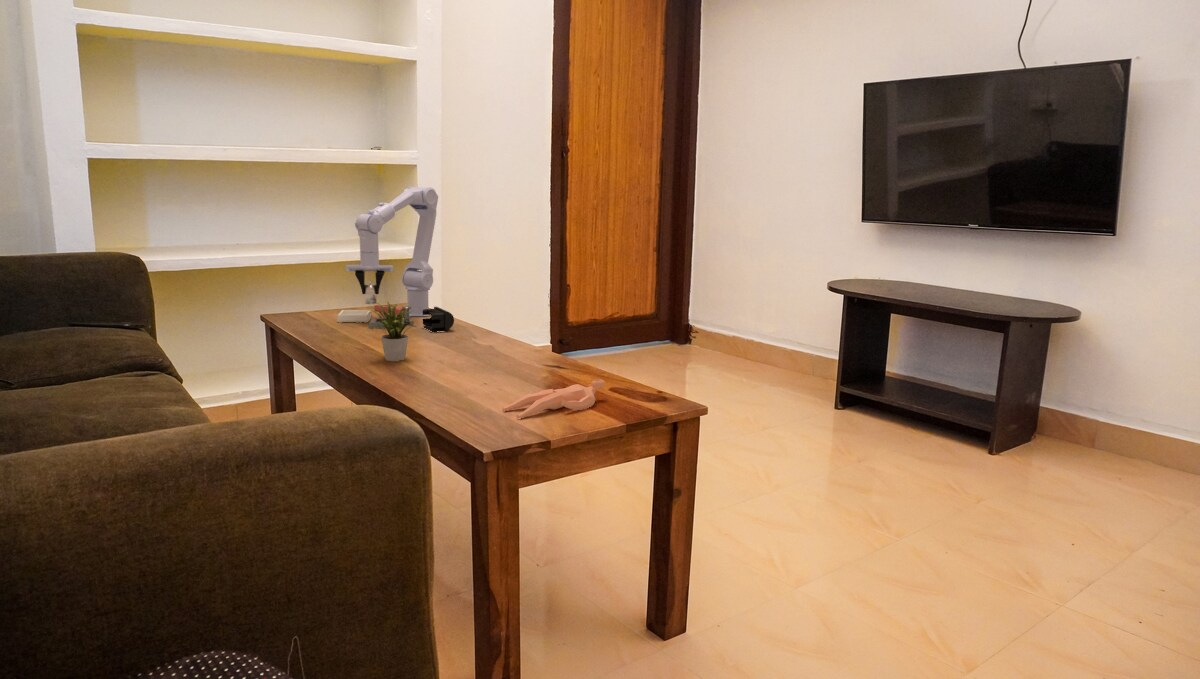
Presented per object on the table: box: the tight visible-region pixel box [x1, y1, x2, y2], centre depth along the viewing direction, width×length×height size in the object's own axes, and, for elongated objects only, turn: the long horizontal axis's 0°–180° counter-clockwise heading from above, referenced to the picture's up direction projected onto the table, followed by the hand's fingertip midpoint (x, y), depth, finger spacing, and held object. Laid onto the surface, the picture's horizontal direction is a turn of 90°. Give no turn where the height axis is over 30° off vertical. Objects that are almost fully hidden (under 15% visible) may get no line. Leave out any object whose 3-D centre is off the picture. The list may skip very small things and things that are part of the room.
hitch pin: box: [364, 280, 378, 305], centre depth 255 cm, size 4×4×7 cm
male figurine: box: [502, 378, 606, 419], centre depth 174 cm, size 11×5×25 cm
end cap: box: [422, 306, 455, 333], centre depth 252 cm, size 10×7×7 cm
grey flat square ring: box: [368, 317, 387, 329], centre depth 255 cm, size 8×8×2 cm
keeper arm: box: [373, 304, 404, 316], centre depth 262 cm, size 13×3×2 cm, turn 59°
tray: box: [336, 309, 372, 324], centre depth 263 cm, size 9×9×2 cm
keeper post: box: [401, 305, 414, 326], centre depth 258 cm, size 4×4×6 cm
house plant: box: [370, 301, 419, 362], centre depth 210 cm, size 14×14×16 cm
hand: (370, 293), depth 256 cm, fingers closed on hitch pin, 4 cm apart
